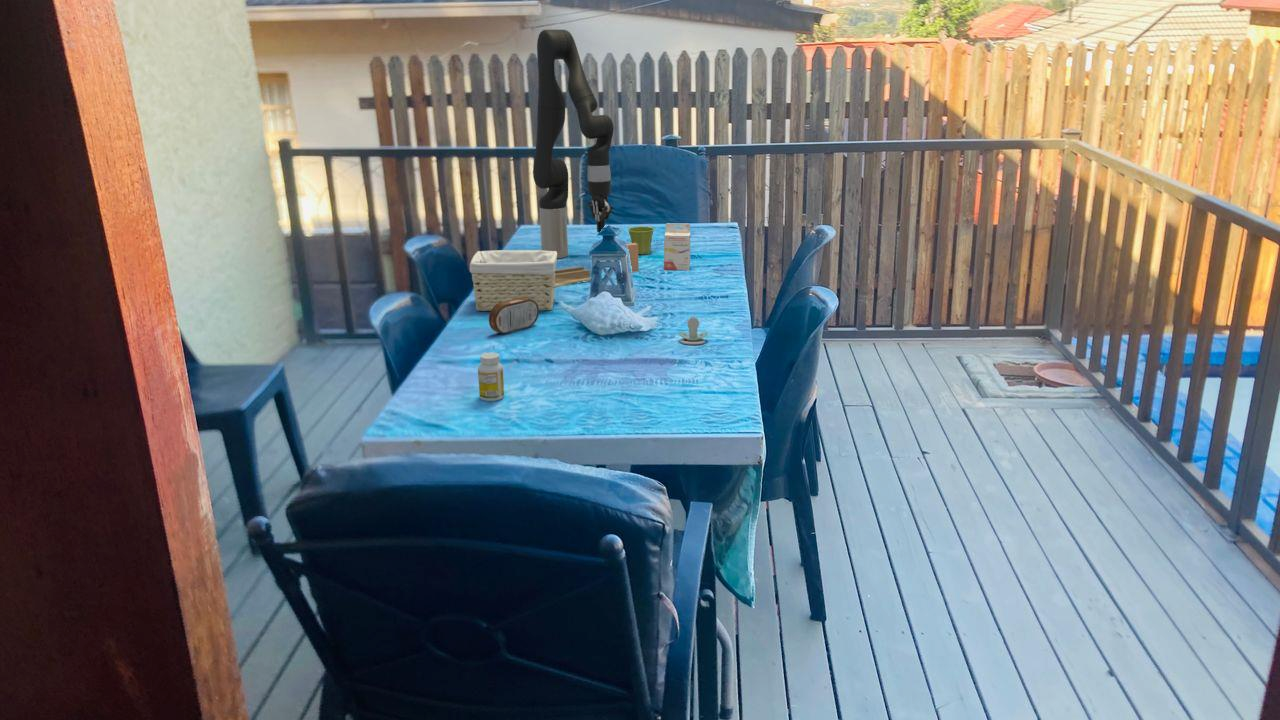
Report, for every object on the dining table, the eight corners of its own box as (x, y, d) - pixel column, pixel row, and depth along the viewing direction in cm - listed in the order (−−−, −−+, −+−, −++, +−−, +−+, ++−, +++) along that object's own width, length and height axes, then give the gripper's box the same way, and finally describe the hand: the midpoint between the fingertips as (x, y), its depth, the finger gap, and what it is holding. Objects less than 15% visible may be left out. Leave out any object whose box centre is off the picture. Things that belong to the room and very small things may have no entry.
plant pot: (623, 255, 337) (623, 230, 335) (634, 249, 346) (633, 225, 343) (648, 257, 334) (648, 232, 331) (658, 251, 342) (658, 227, 339)
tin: (534, 323, 261) (532, 293, 258) (541, 325, 259) (540, 295, 256) (488, 335, 251) (486, 304, 249) (496, 338, 249) (494, 306, 246)
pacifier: (706, 346, 241) (707, 338, 247) (706, 323, 239) (708, 315, 244) (677, 346, 242) (679, 338, 248) (677, 322, 240) (679, 315, 245)
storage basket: (559, 297, 286) (557, 248, 281) (556, 312, 271) (554, 261, 266) (479, 298, 285) (475, 249, 281) (471, 314, 270) (467, 262, 265)
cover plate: (597, 275, 311) (596, 247, 308) (634, 269, 317) (634, 242, 314) (600, 276, 309) (600, 249, 306) (638, 271, 315) (638, 244, 312)
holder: (527, 280, 304) (526, 271, 303) (578, 273, 313) (578, 264, 312) (541, 288, 295) (541, 279, 294) (594, 281, 303) (593, 271, 302)
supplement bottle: (491, 403, 206) (488, 361, 202) (474, 398, 209) (471, 356, 206) (509, 396, 209) (507, 354, 206) (493, 391, 213) (490, 349, 210)
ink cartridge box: (663, 270, 316) (663, 225, 311) (664, 266, 321) (664, 222, 316) (689, 270, 315) (690, 226, 310) (690, 266, 320) (690, 223, 315)
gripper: (618, 180, 306) (620, 234, 312) (600, 175, 317) (602, 227, 323) (597, 182, 303) (600, 236, 309) (579, 177, 314) (581, 230, 320)
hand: (601, 232), depth 316 cm, fingers closed
